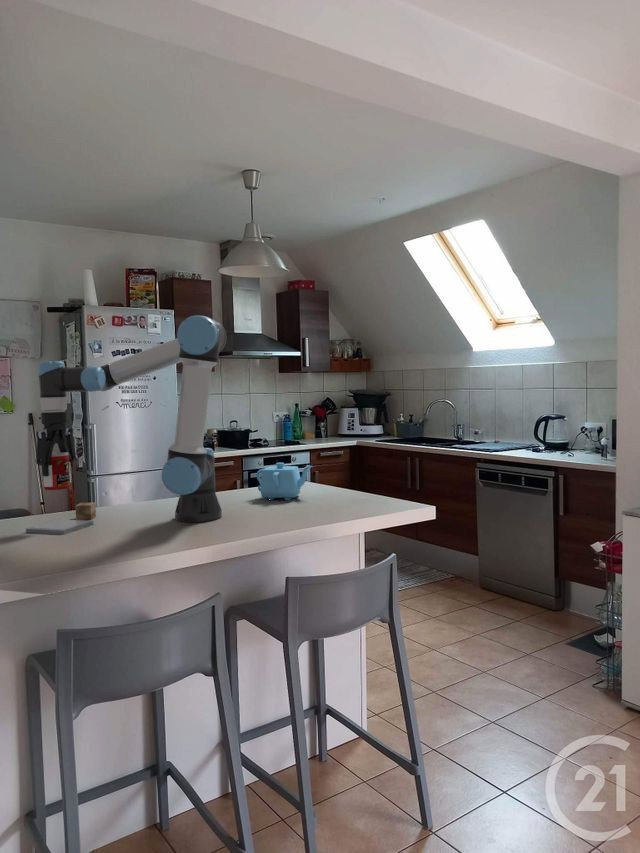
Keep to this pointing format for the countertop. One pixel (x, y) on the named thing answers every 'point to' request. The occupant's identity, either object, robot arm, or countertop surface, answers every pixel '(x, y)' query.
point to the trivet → (59, 526)
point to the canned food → (59, 471)
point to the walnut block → (85, 511)
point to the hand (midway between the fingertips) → (57, 484)
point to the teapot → (281, 481)
